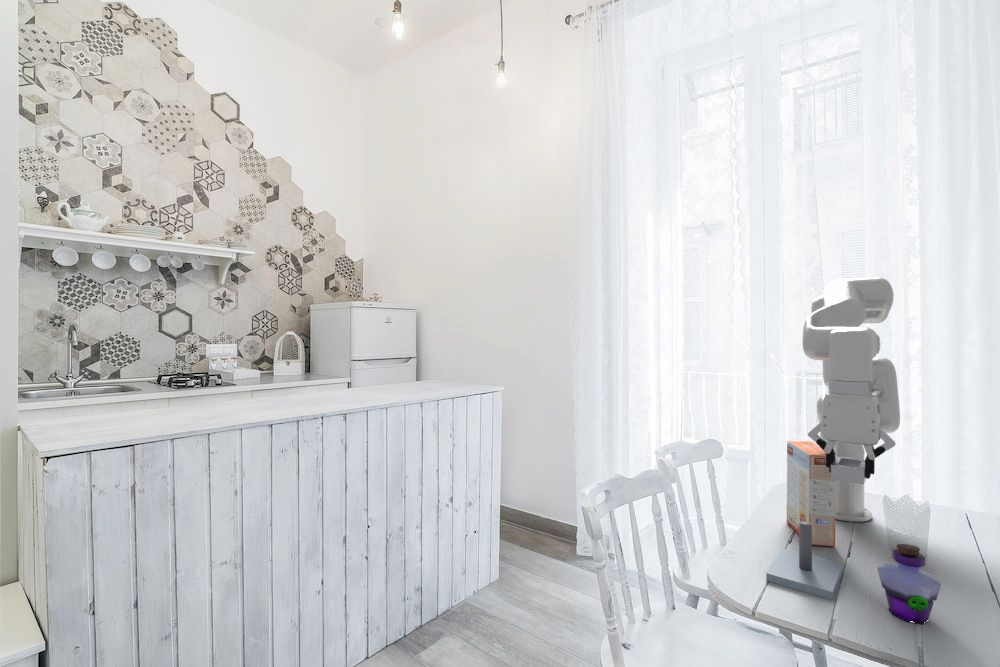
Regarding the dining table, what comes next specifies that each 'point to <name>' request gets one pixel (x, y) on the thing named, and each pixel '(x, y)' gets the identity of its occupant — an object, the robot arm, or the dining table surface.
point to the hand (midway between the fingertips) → (849, 473)
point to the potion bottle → (909, 585)
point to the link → (848, 470)
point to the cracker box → (810, 491)
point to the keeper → (806, 568)
